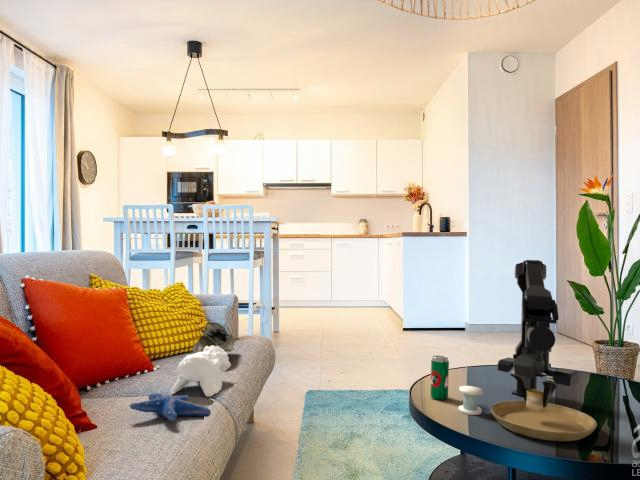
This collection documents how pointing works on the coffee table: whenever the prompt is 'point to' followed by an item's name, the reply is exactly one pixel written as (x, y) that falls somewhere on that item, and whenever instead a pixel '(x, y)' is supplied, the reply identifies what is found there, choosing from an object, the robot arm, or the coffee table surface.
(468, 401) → the white spool
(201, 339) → the hollow geode rock
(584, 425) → the plant saucer
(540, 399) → the brass peg
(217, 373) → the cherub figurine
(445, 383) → the soda can
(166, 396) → the starfish
